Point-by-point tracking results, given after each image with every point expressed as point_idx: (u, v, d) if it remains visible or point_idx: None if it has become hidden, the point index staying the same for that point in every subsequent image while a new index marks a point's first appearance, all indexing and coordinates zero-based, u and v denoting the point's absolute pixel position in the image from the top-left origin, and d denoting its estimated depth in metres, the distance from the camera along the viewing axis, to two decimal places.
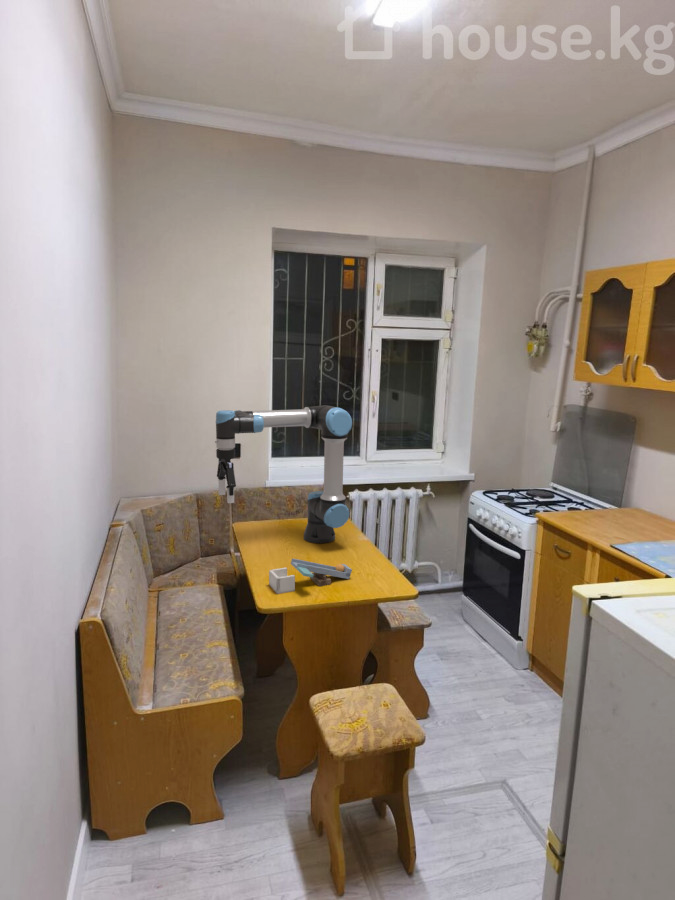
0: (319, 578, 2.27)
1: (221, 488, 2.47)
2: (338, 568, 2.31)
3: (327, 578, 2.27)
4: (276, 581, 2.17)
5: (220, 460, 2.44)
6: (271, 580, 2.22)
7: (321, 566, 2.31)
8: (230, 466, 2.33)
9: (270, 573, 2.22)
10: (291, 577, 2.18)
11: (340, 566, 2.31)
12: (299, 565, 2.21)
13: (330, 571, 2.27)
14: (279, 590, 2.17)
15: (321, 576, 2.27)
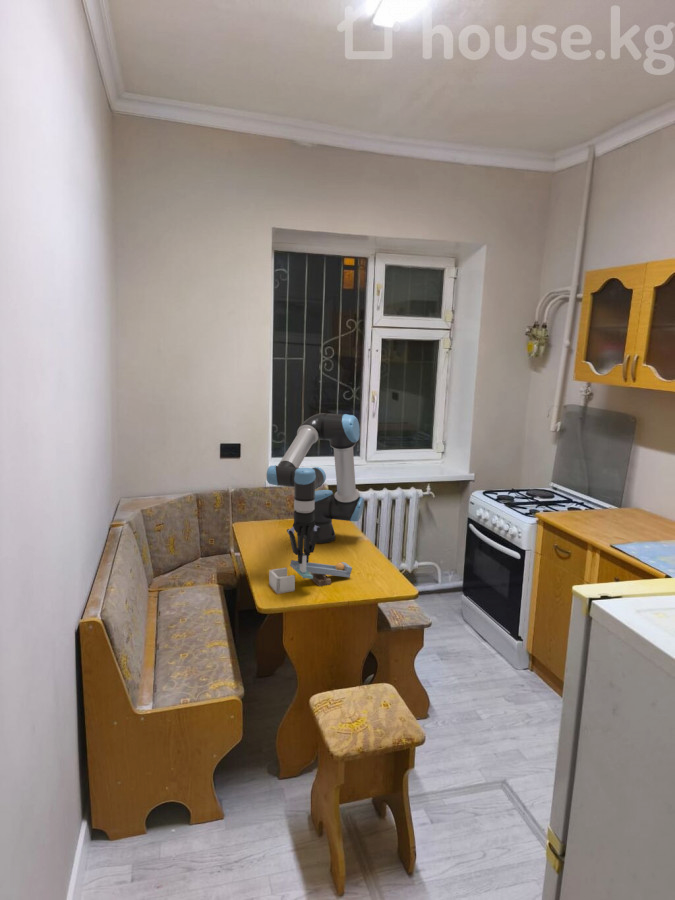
0: (319, 578, 2.27)
1: None
2: (338, 567, 2.31)
3: (327, 578, 2.27)
4: (276, 581, 2.17)
5: None
6: (271, 580, 2.22)
7: (321, 566, 2.31)
8: (289, 534, 2.12)
9: (270, 573, 2.22)
10: (291, 577, 2.18)
11: (340, 565, 2.31)
12: (298, 567, 2.21)
13: (330, 570, 2.27)
14: (279, 590, 2.17)
15: (321, 576, 2.27)
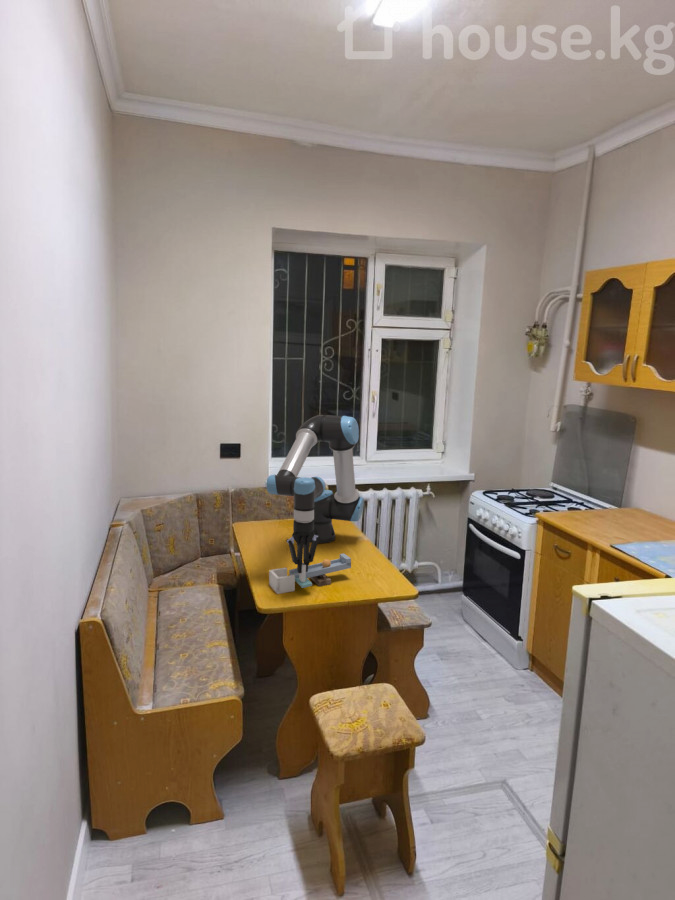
0: (319, 578, 2.27)
1: None
2: (330, 563, 2.29)
3: (327, 578, 2.27)
4: (276, 581, 2.17)
5: None
6: (271, 580, 2.22)
7: (320, 565, 2.31)
8: (288, 543, 2.13)
9: (270, 573, 2.22)
10: (291, 577, 2.18)
11: (329, 566, 2.29)
12: (296, 576, 2.21)
13: (329, 568, 2.27)
14: (279, 590, 2.17)
15: (321, 576, 2.27)
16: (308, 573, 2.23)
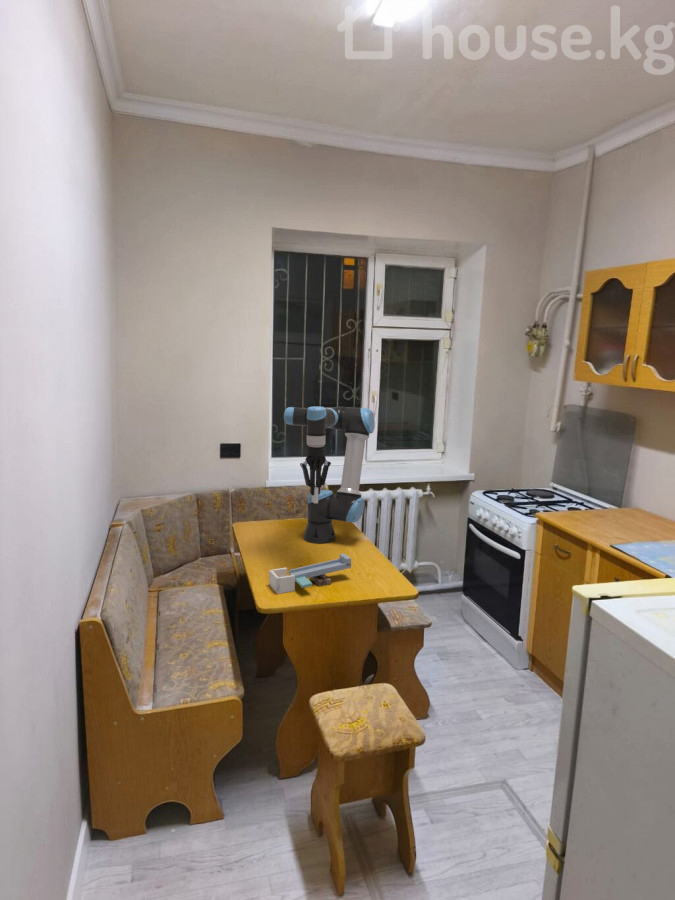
0: (319, 578, 2.27)
1: None
2: None
3: (327, 578, 2.27)
4: (276, 581, 2.17)
5: None
6: (271, 580, 2.22)
7: (320, 565, 2.31)
8: (302, 467, 2.32)
9: (270, 573, 2.22)
10: (291, 577, 2.18)
11: None
12: (296, 576, 2.21)
13: (329, 568, 2.27)
14: (279, 590, 2.17)
15: (321, 576, 2.27)
16: (308, 573, 2.23)
